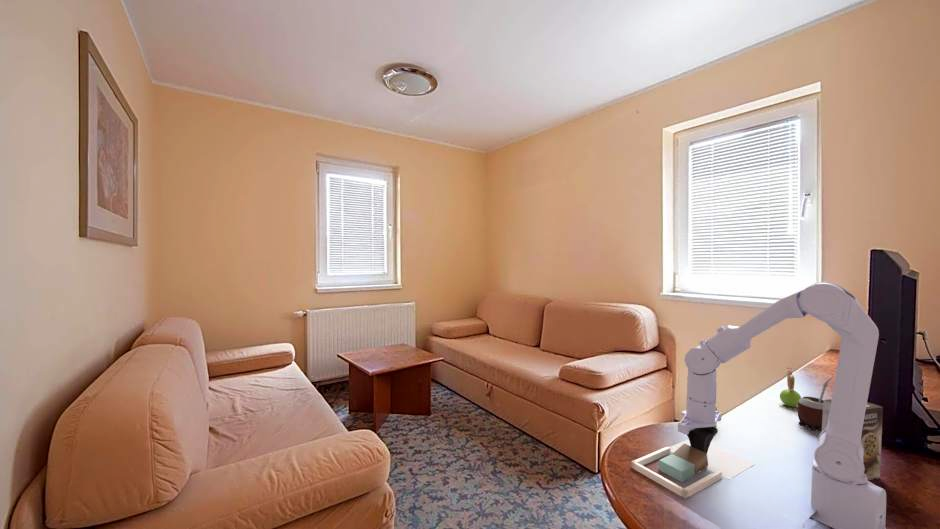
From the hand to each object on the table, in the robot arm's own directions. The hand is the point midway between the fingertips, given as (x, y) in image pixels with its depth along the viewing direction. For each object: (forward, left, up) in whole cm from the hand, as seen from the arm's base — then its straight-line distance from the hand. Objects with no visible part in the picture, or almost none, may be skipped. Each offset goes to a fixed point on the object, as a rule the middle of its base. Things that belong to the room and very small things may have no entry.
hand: (699, 456), depth 85 cm
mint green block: (0, +9, -2) cm, 9 cm away
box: (0, +9, -2) cm, 10 cm away
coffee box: (-18, -28, -3) cm, 33 cm away
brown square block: (0, +3, -1) cm, 3 cm away
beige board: (0, -4, -2) cm, 5 cm away
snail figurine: (+5, -64, -3) cm, 64 cm away
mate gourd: (-5, -51, -3) cm, 51 cm away
